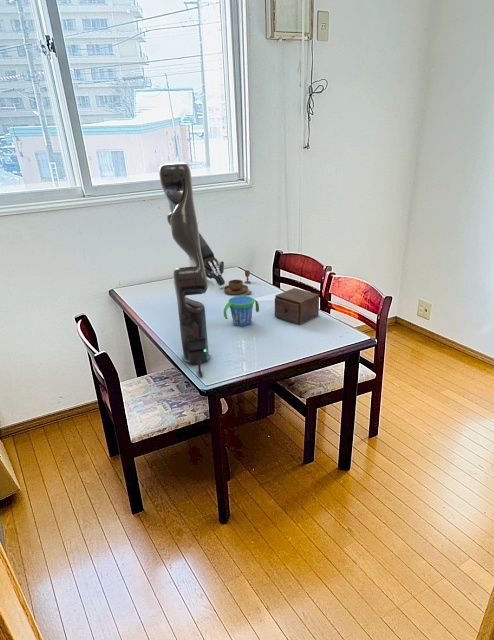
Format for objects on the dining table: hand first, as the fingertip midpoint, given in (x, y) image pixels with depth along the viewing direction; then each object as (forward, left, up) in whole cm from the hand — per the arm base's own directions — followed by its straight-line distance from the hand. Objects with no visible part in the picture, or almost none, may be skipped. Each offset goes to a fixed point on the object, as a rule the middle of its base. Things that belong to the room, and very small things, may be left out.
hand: (222, 284), depth 207 cm
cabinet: (-10, -30, -14) cm, 34 cm away
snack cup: (-9, -5, -15) cm, 18 cm away
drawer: (-11, -28, -14) cm, 33 cm away
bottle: (+53, +1, -15) cm, 55 cm away
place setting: (+33, -17, -15) cm, 39 cm away
